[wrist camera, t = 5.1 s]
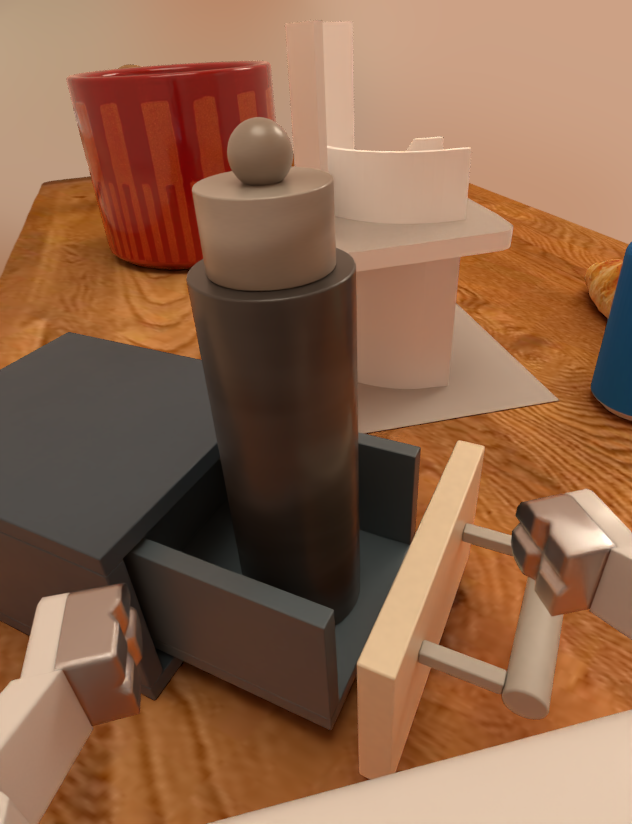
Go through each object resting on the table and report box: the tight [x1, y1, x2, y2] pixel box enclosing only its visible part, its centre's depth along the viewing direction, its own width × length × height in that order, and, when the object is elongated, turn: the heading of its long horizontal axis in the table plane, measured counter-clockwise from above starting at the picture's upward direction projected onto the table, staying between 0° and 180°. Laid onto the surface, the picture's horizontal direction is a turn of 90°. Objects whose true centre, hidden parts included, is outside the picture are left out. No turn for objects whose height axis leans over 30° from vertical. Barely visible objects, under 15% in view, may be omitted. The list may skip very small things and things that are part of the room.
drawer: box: [123, 432, 563, 780], centre depth 24 cm, size 18×12×7 cm, turn 64°
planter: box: [66, 61, 276, 270], centre depth 70 cm, size 23×23×20 cm
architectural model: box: [285, 20, 559, 434], centre depth 44 cm, size 28×21×23 cm
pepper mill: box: [186, 117, 360, 625], centre depth 20 cm, size 5×5×19 cm
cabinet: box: [0, 332, 220, 700], centre depth 29 cm, size 15×13×9 cm
